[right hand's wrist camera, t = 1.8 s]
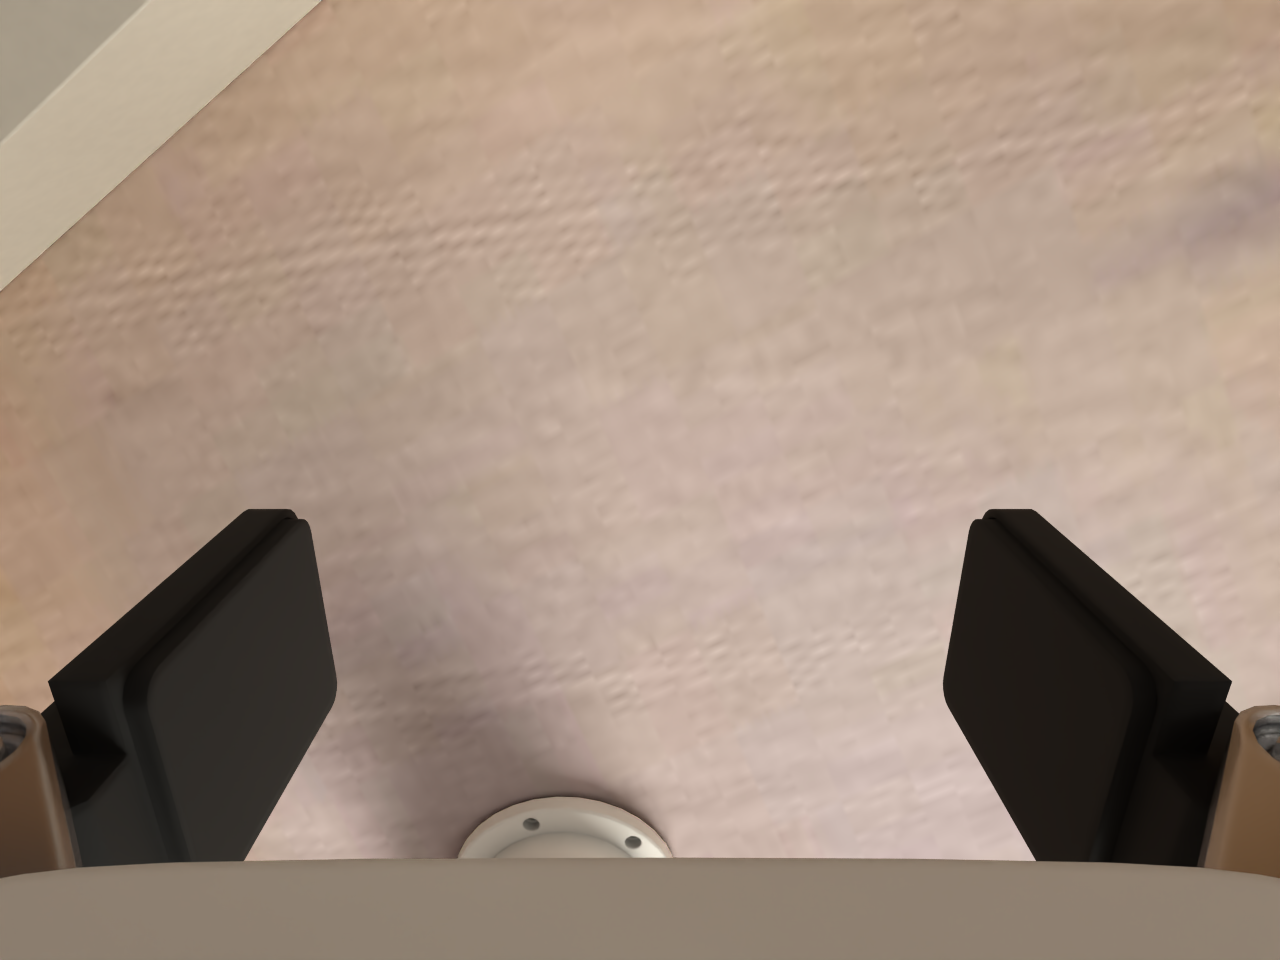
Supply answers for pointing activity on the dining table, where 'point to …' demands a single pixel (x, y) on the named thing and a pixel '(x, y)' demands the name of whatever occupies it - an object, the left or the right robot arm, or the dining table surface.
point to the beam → (107, 97)
